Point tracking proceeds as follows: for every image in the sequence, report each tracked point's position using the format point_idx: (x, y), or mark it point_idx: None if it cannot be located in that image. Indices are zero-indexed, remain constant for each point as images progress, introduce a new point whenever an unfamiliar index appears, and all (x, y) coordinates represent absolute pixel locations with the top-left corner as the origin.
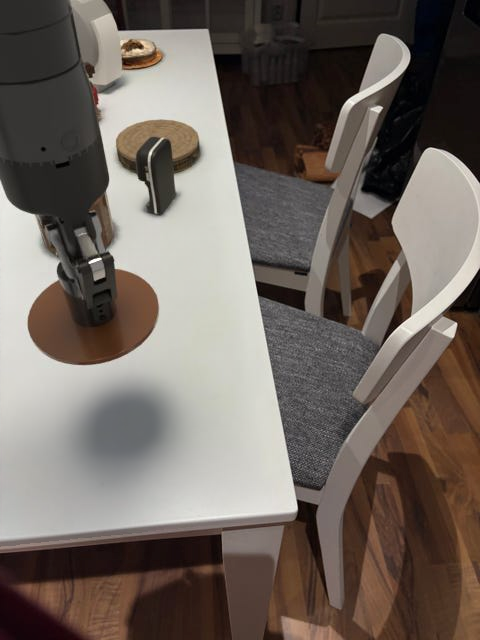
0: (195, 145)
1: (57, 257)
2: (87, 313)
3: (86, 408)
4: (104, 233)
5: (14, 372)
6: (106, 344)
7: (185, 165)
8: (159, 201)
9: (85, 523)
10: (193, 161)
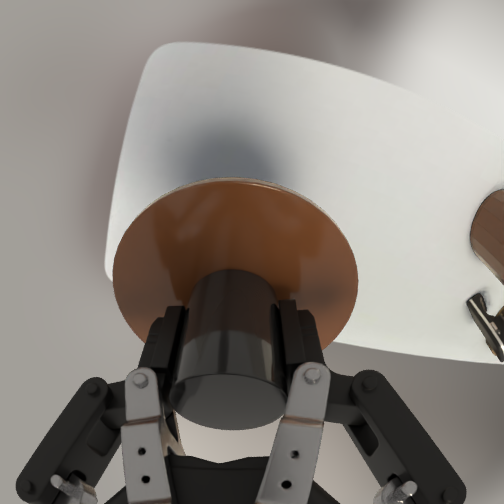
0: (493, 352)
1: (306, 370)
2: (160, 332)
3: (274, 146)
4: (480, 255)
5: (368, 86)
6: (141, 301)
7: None
8: (473, 313)
9: (135, 116)
10: (487, 341)
